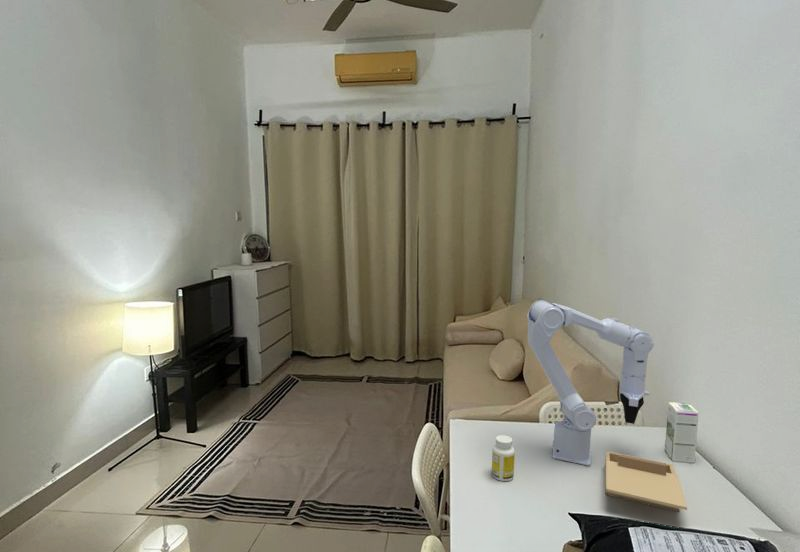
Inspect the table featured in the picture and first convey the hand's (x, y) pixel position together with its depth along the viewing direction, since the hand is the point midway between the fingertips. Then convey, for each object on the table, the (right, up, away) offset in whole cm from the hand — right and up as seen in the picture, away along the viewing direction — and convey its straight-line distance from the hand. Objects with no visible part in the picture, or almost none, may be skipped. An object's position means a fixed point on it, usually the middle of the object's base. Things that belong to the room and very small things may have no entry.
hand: (629, 422), depth 122 cm
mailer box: (-4, -12, -13) cm, 18 cm away
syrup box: (+14, -10, +1) cm, 18 cm away
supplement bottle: (-36, -11, -9) cm, 39 cm away
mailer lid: (-7, -8, -20) cm, 23 cm away
